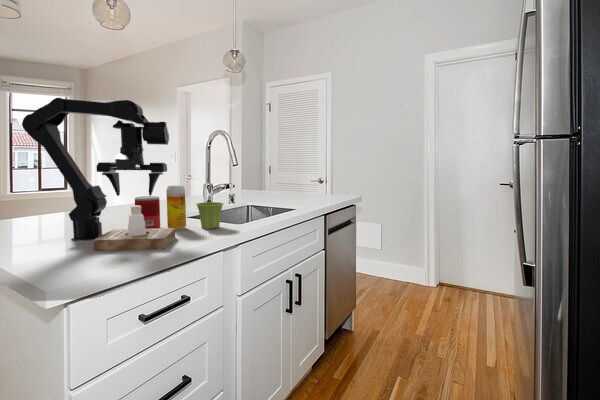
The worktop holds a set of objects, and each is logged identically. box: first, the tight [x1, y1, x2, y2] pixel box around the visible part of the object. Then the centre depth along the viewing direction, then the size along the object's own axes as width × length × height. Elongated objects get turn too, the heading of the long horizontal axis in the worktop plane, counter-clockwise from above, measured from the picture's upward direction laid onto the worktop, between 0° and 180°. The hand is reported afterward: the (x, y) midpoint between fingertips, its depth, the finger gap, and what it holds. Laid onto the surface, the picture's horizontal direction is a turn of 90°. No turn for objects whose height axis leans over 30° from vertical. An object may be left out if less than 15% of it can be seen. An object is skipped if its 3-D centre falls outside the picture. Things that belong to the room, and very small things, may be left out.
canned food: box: [134, 195, 161, 229], centre depth 121 cm, size 8×8×11 cm
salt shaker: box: [127, 204, 146, 236], centre depth 99 cm, size 5×5×11 cm
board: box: [92, 227, 176, 252], centre depth 100 cm, size 18×14×3 cm
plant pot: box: [195, 201, 224, 230], centre depth 124 cm, size 9×9×9 cm
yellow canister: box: [165, 185, 187, 231], centre depth 121 cm, size 6×6×15 cm
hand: (134, 195), depth 107 cm, fingers open, 9 cm apart
